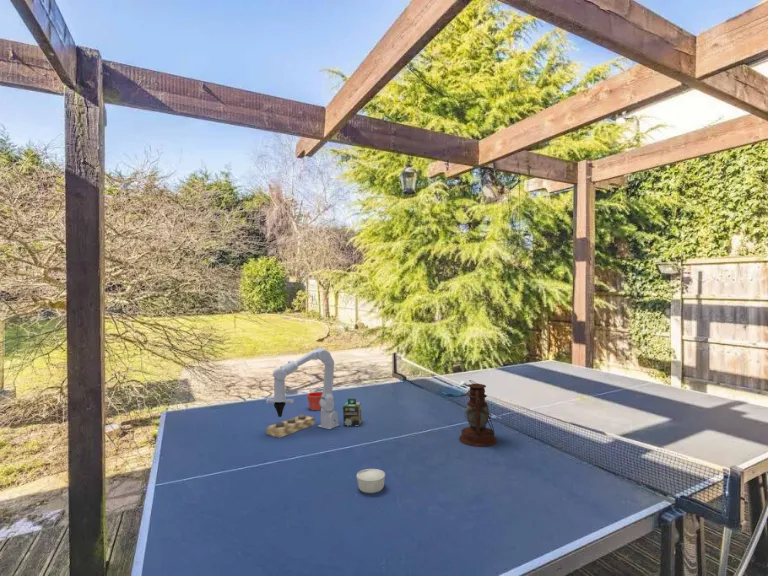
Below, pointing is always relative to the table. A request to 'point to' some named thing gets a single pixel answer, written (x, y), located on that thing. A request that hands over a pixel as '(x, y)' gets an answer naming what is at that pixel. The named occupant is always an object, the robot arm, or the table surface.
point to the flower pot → (314, 400)
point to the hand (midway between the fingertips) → (280, 416)
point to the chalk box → (352, 413)
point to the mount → (290, 427)
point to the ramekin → (370, 480)
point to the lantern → (477, 419)
